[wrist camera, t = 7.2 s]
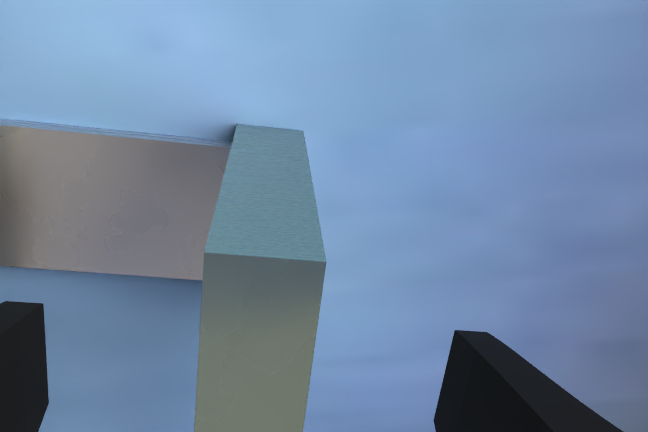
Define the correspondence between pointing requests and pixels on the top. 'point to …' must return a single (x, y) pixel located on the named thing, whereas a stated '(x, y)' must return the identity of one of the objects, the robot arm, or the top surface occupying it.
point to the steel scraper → (185, 245)
